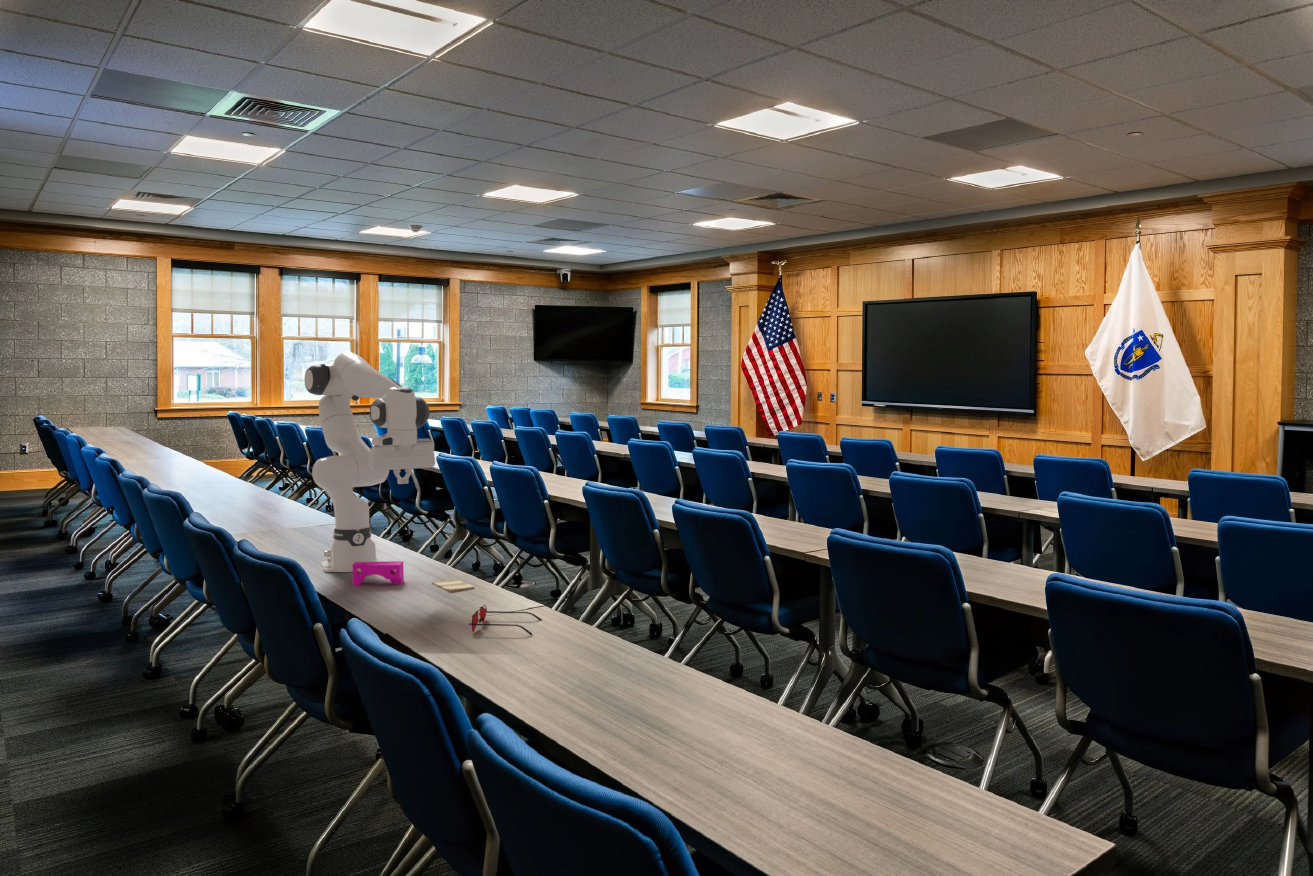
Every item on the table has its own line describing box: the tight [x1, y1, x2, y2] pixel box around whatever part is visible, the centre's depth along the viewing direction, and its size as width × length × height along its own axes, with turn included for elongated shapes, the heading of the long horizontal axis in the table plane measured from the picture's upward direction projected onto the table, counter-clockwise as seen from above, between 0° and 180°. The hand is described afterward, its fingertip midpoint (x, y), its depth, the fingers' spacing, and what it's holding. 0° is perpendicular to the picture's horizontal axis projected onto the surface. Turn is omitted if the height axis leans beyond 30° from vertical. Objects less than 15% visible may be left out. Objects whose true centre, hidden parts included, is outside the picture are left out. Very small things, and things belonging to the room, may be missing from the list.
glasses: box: [467, 604, 543, 636], centre depth 233 cm, size 14×16×5 cm
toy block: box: [352, 560, 405, 586], centre depth 282 cm, size 15×6×8 cm, turn 95°
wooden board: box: [431, 578, 475, 593], centre depth 279 cm, size 14×8×1 cm, turn 37°
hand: (402, 483), depth 276 cm, fingers closed
